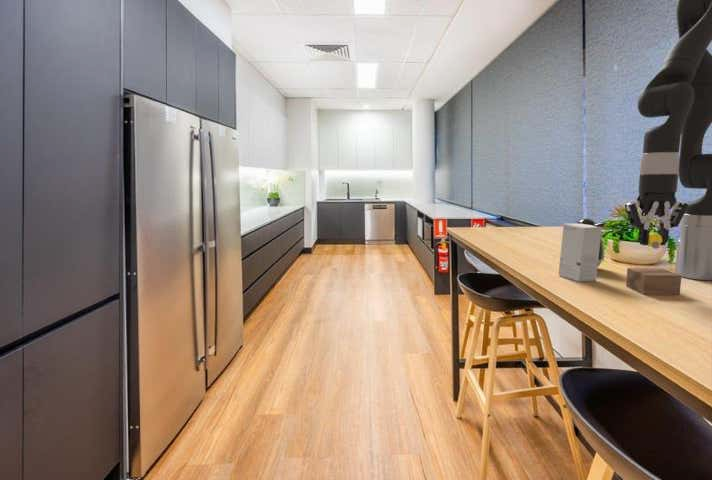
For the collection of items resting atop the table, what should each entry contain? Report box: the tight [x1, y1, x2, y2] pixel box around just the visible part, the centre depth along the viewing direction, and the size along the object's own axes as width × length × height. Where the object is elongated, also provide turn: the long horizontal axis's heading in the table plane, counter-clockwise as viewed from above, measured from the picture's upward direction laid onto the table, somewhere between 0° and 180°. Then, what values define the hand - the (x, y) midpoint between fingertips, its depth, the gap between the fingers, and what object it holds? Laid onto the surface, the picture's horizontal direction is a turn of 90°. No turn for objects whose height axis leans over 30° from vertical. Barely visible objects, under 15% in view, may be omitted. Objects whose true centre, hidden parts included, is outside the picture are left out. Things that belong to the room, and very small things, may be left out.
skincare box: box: [558, 223, 603, 283], centre depth 119 cm, size 8×6×15 cm
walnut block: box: [625, 267, 682, 296], centre depth 106 cm, size 8×8×5 cm
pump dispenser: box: [576, 218, 606, 267], centre depth 132 cm, size 10×10×15 cm
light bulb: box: [647, 232, 662, 250], centre depth 104 cm, size 3×6×4 cm, turn 155°
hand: (652, 244), depth 105 cm, fingers closed on light bulb, 3 cm apart
